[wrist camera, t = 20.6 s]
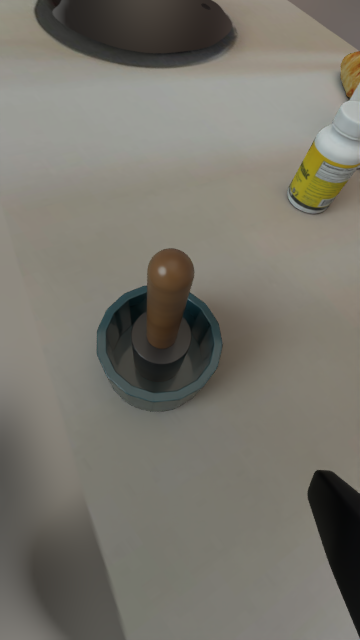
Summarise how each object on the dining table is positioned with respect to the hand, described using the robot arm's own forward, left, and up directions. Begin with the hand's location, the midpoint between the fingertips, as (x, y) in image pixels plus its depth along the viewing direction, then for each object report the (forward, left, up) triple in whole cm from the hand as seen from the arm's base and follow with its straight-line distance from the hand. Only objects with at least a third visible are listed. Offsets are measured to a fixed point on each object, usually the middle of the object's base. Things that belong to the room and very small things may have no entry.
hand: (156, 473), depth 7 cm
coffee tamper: (+4, +6, -13) cm, 15 cm away
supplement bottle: (+30, +16, -14) cm, 37 cm away
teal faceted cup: (+4, +6, -14) cm, 16 cm away
